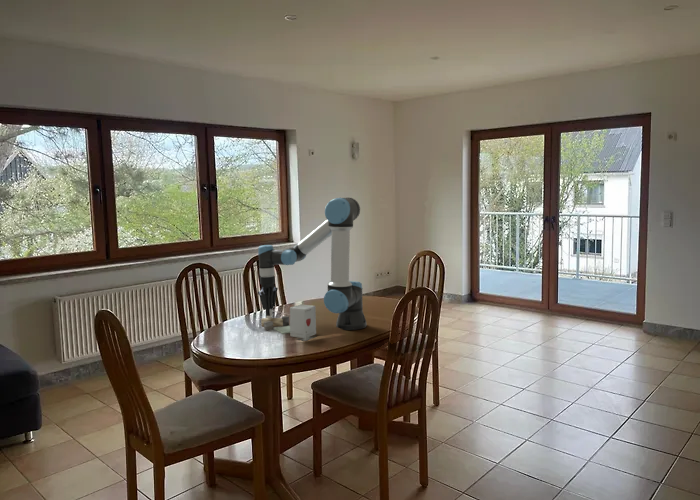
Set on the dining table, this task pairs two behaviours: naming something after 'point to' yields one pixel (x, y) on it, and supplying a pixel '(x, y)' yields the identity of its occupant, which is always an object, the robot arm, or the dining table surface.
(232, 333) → the dining table surface
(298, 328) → the supplement box
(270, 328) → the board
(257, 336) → the dining table surface
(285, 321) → the leg bar
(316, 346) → the dining table surface
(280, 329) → the seat pad
